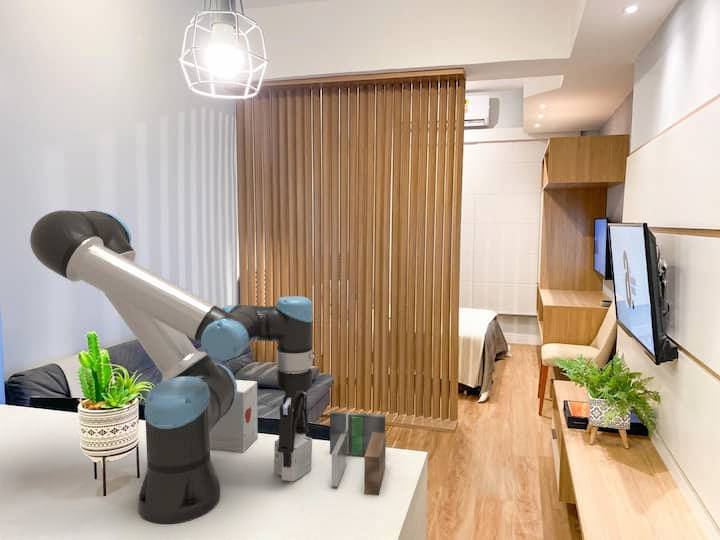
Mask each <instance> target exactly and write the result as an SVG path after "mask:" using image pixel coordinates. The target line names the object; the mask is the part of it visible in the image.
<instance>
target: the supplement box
mask: <svg viewBox="0 0 720 540" xmlns="http://www.w3.org/2000/svg"><path fill="white" fill-rule="evenodd" d="M235 380H236V384H237V394H236V398H235V401H234V403H233V404H232V406H231V408H230V410H229V411H228V412H227V414H226V415H224V416H223V417H222V418H221V419H220V420H219V421H218V422H217V423H216V424H215V425H214V427H213V428H212V429H211V430H210V450H216V451H217V450H218V451H219V450H220V451H228V452H237V453H244V452H245V451H247V450H248V448H249V447H250V446H252V444H253V443H254V442H255V441H256V440H258V381H255V380H243V379H242V380H240V379H235Z"/></svg>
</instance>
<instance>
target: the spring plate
mask: <svg viewBox="0 0 720 540" xmlns="http://www.w3.org/2000/svg"><path fill="white" fill-rule="evenodd" d="M348 413H349V412H347V413H346V428H345V430H344V432H343V434H341V435H340V437H339V439H338V441H337V443H336V446H335V448H334V450H333V452H332V454H331V487H338V485H339V483H340V482H341V478H342V475H343V473H344V471H345V468H346V465H347V455H346V436H347V434H348V432H349V414H348Z"/></svg>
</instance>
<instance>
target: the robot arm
mask: <svg viewBox="0 0 720 540" xmlns="http://www.w3.org/2000/svg"><path fill="white" fill-rule="evenodd" d="M131 240H132V235H131V232H130V229H129V228H128V226H127V224H126V223H125V222H124V221H123V220H122V219H120V218H119V217H118V216H116V215H114V214H112V213H109V212H105V211H99V210H87V211H79V210H63V209H62V210H55V211H52V212H49V213H46V214H45V215H44V216H42V217H40V218H39V219H38V220H37V221H36V222H35V224H34V226H33V227H32V230H31V232H30V237H29V242H30V248H31V251H32V254H34V256H35V257H36V259H37V260H38V261H39V263H41V264H42V265H43V266H44V267H46V268H48V269H49V270H51V271H52V272H54V273H56V274H57V275H59V276H61V277H63V278H65V279H67V280H69V281H71V282H74V283H75V282H80V281H82V282H85V283H86V284H88V285H90V286H92V287H94V288H96V289H97V290H100V291H102V292H103V294H104V295H105V297H106V299H108V301H109V302H110V304H111V305H112V306H113V308H114V309H115V310H116V312H117V314H118V315H119V316H120V317H121V319H122V320H123V322H124V323H125V324H126V326H127V327H128V328H129V331H131V333H132V334H133V335H134V337H135V338H136V339H137V341H138V343H140V345H141V346H142V348H143V350H144V351H145V352H146V354H147V355H148V356H149V357H150V359H151V361H152V362H153V363H154V364H155V366H156V368H157V369H158V370H159V371H160V373H161V375H162V378H161V381H160V382H159V383H156V384H155V385H154V386H152V387H151V388H150V390H149V391H148V392H147V393H146V397H145V407H144V410H143V411H144V419H145V436H146V437H145V438H146V439H145V440H146V441H145V442H146V444H145V445H146V463H147V464H146V467H147V468H146V471H145V474H144V479H143V482H142V485H141V487H140V488H141V489H140V492H139V494H138V512H139V515H141V517H142V518H144V519H145V520H147V521H151V522H153V523H158V524H159V523H160V524H175V523H181V522H186V521H190V520H193V519H194V520H195V519H196V518H199V517H201V516H204V515H205V514H206V513H208V512H210V511H211V510H213V509H214V508H215V507H217V505H218V503H219V502H220V499H221V485H220V481H219V478H218V476H217V473H216V470H215V467H214V466H213V463H212V460H211V459H212V458H211V449H210V430H211V429H212V428H213V427H214V425H215V424H216V423H217V422H218V421H219V420H220V419H221V418H222V417H223V416H224V415H226V414H227V412H228V411H229V410H230V408H231V406H232V404H233V403H234V401H235V398H236V394H237V384H236V380H237V379H235V375H234V374H233V373H232V371H231V370H230V369H229V368H227V367H226V366H225V365H223V364H219V363H216V362H215V361H217V362H218V361H219V362H223V361H224V362H226V361H229V360H231V359H234V358H235V357H238V356H240V354H242V353H244V351H245V350H246V349H247V348H248V347H249V346H250V345H252V344H253V343H254V342H255V341H256V342H276V344H277V346H276V367H277V369H278V370H277V371H276V386H277V388H279V390H283V391H284V392H285V393H284V396H283V398H282V404H280V405H279V426H278V428H279V429H278V430H279V431H278V435H279V436H278V439H279V447H278V449H277V450H278V452H282V475H281V480H282V481H289V482H295V481H296V480H295V450H294V442H295V434H299V435H303V436H305V437H307V436H306V434H309V433H310V428H308V427H309V411H308V410H309V406H308V390H309V389H310V388H311V387H312V386H313V385H312V384H313V369H311V368H312V367H313V360H314V359H315V354H313V331H314V330H313V329H314V327H313V326H314V317H313V303H312V300H311V299H310V298H308V297H305V296H299V295H295V296H294V295H293V296H281V297H280V298H278V299H277V301H276V305H271V306H269V305H268V306H267V305H247V304H242V303H241V304H240V303H239V304H233V305H231V304H230V305H225V306H224V307H223V308H222V307H221V308H220V307H218V306H217V305H216V304H214V303H212V302H210V301H208V300H205V298H203V297H200V296H199V295H196V294H195V293H193V292H191V291H189V290H188V289H185V288H183V287H181V286H180V285H178V284H176V283H174V282H172V281H170V280H168V279H166V278H164V277H162V276H161V275H159V274H157V273H155V272H154V271H151V270H150V269H148V268H146V267H144V266H142V265H140V264H138V263H137V262H135V261H136V260H135V258H136V255H137V253H136V251H135V250H134V248H133V246H132V243H131ZM189 338H190V339H192V340H194V341H196V342H197V343H199V344H201V347H202V350H203V351H199V350H198V349H197V348H196V347H195V345H193V343H192V341H191V340H190V339H189Z"/></svg>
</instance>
